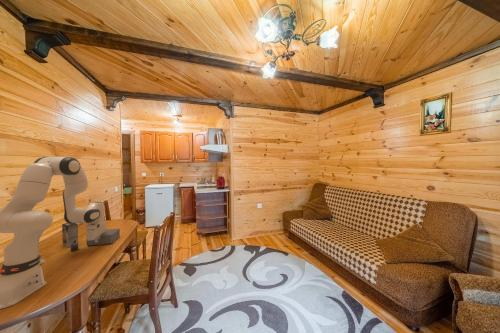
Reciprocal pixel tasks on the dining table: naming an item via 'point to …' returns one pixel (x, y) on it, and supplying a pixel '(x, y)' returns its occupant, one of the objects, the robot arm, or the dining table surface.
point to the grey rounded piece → (73, 247)
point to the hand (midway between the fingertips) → (97, 241)
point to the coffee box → (69, 234)
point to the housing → (110, 232)
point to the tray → (102, 240)
